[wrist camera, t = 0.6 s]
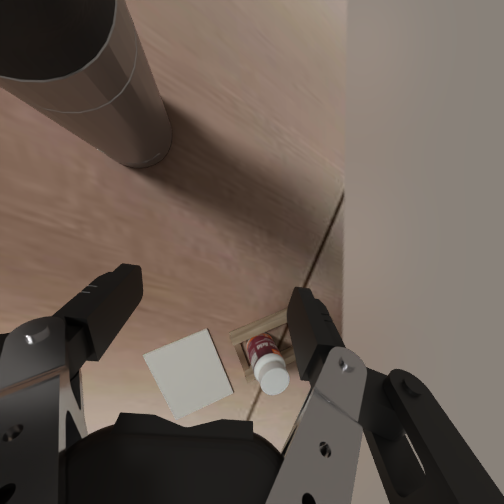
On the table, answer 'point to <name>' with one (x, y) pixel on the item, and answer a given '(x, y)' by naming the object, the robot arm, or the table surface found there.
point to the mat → (189, 373)
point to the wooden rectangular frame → (256, 329)
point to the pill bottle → (267, 364)
